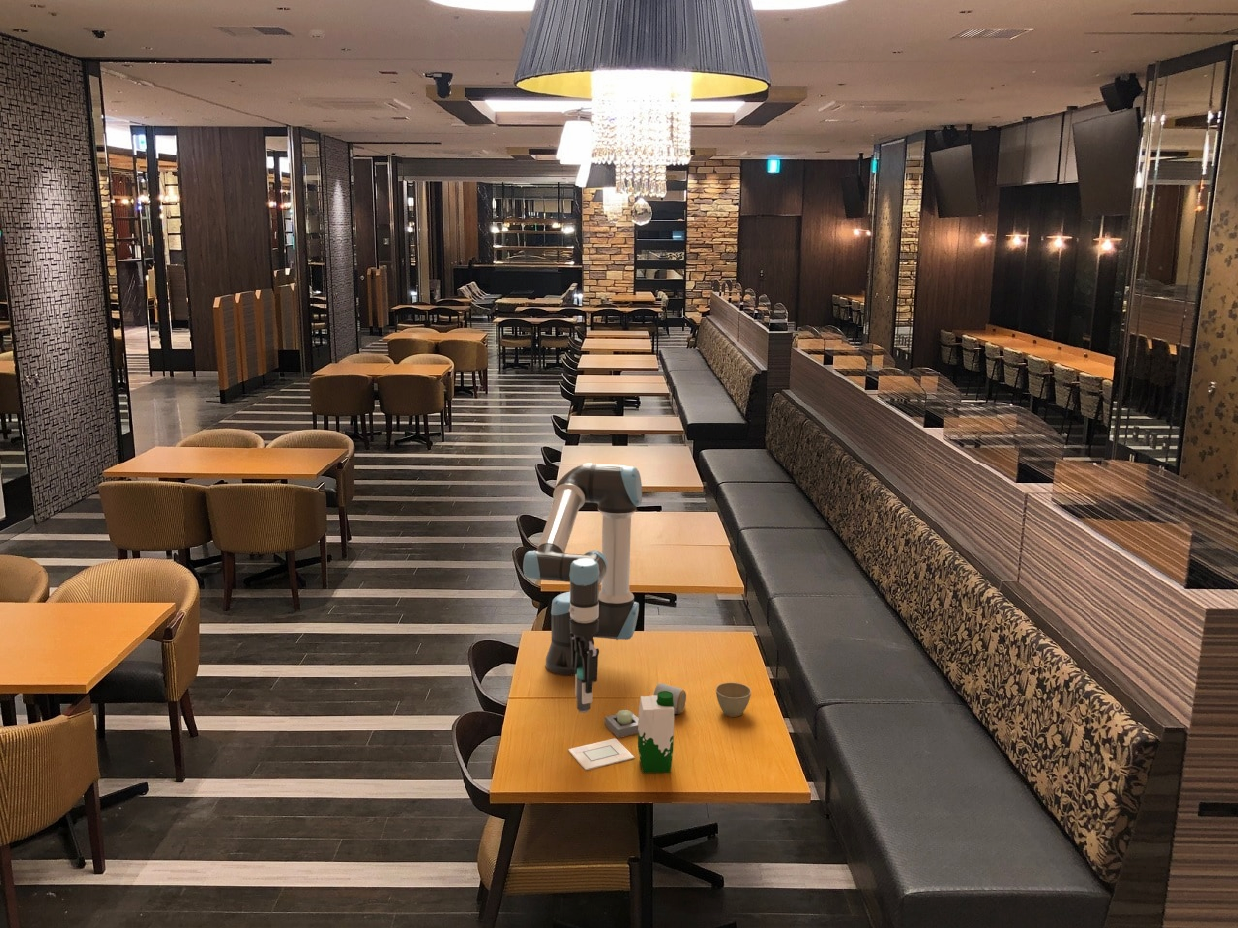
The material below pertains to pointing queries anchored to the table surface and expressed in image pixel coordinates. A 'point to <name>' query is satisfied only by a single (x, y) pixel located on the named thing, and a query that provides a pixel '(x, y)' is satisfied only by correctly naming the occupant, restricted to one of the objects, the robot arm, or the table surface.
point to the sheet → (600, 754)
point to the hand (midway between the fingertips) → (583, 698)
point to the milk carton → (656, 732)
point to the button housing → (622, 730)
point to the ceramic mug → (678, 696)
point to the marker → (581, 707)
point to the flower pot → (733, 698)
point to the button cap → (624, 717)
